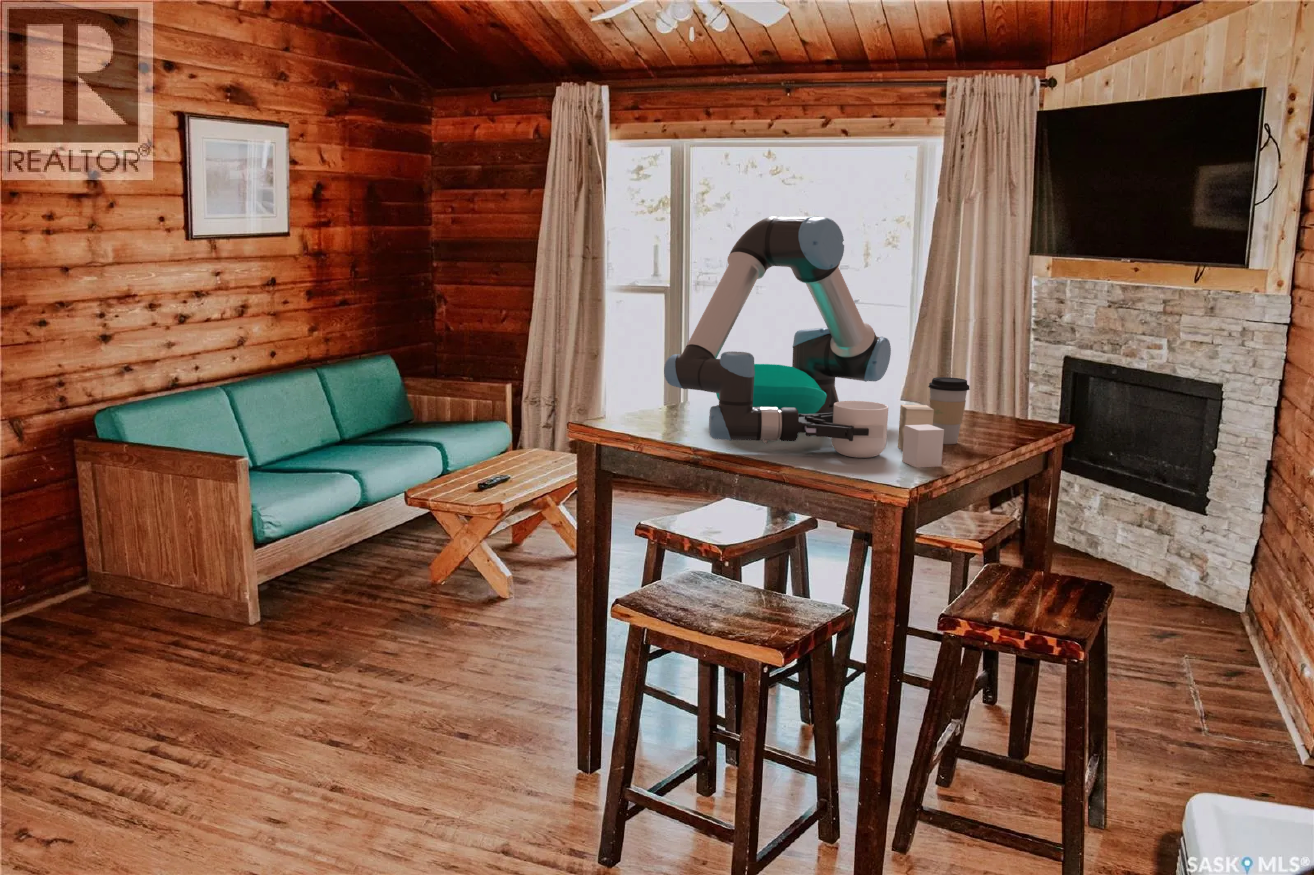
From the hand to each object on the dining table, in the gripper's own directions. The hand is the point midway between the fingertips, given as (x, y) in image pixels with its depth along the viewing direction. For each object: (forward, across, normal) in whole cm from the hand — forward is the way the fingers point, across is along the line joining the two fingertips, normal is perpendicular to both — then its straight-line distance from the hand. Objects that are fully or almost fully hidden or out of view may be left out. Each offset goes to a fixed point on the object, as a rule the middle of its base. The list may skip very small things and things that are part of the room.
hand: (876, 426), depth 230 cm
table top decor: (-20, -32, -7) cm, 38 cm away
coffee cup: (+20, -16, -7) cm, 27 cm away
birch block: (+10, -6, -7) cm, 14 cm away
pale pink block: (+8, +8, -7) cm, 13 cm away
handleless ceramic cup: (-4, 0, -7) cm, 8 cm away
